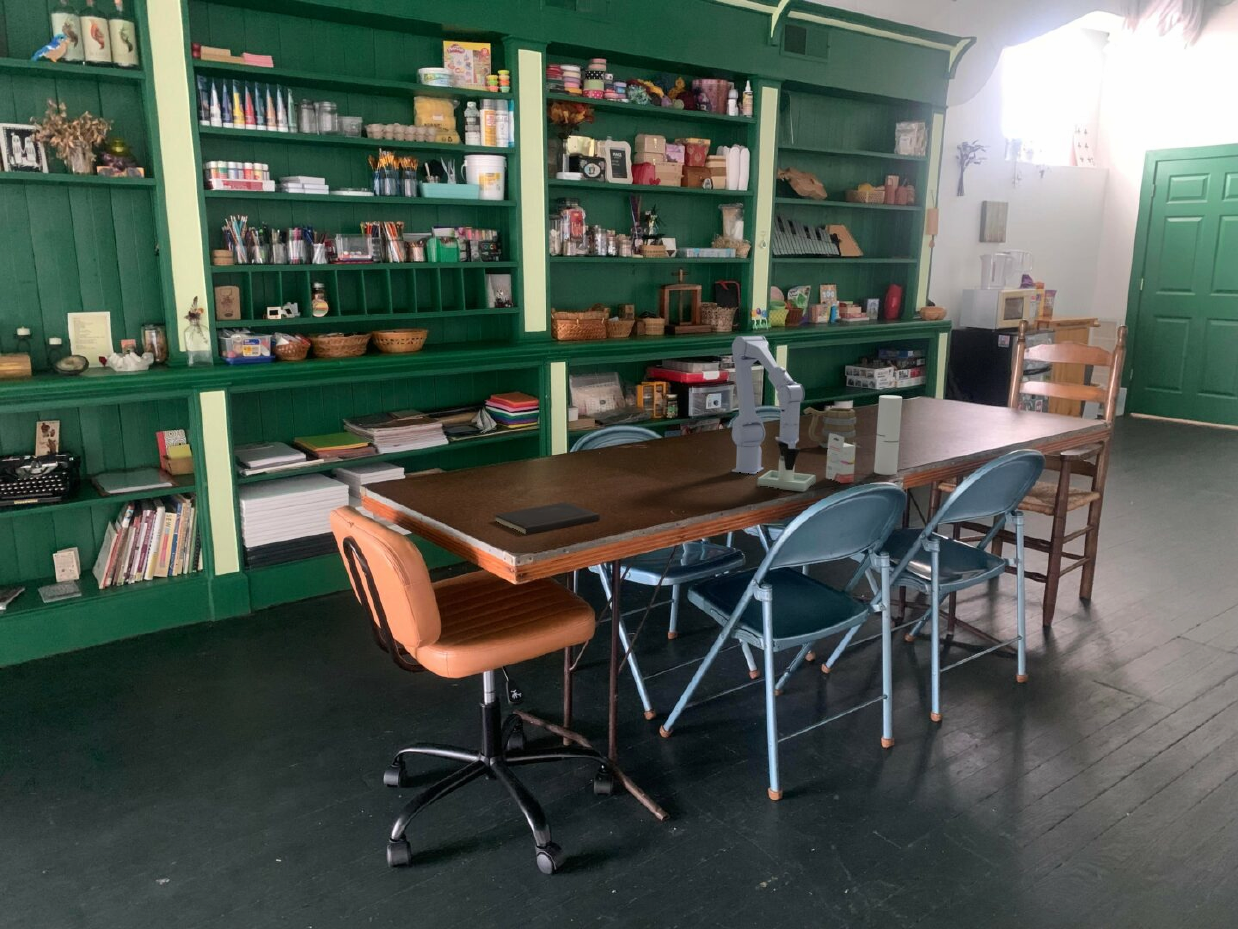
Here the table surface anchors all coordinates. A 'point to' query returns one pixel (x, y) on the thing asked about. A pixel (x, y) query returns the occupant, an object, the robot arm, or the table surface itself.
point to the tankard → (833, 425)
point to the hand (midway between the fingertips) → (787, 467)
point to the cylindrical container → (888, 434)
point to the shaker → (785, 471)
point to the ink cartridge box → (840, 460)
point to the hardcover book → (546, 517)
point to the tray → (799, 484)
